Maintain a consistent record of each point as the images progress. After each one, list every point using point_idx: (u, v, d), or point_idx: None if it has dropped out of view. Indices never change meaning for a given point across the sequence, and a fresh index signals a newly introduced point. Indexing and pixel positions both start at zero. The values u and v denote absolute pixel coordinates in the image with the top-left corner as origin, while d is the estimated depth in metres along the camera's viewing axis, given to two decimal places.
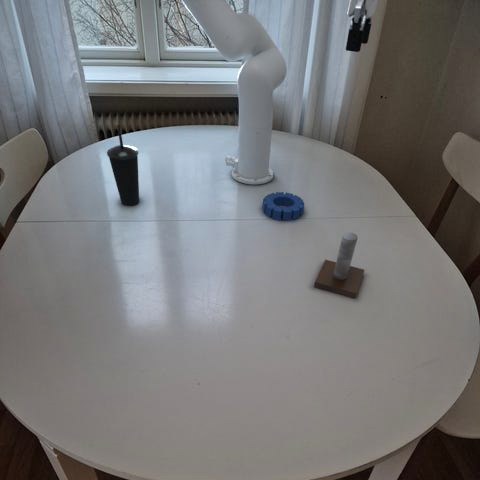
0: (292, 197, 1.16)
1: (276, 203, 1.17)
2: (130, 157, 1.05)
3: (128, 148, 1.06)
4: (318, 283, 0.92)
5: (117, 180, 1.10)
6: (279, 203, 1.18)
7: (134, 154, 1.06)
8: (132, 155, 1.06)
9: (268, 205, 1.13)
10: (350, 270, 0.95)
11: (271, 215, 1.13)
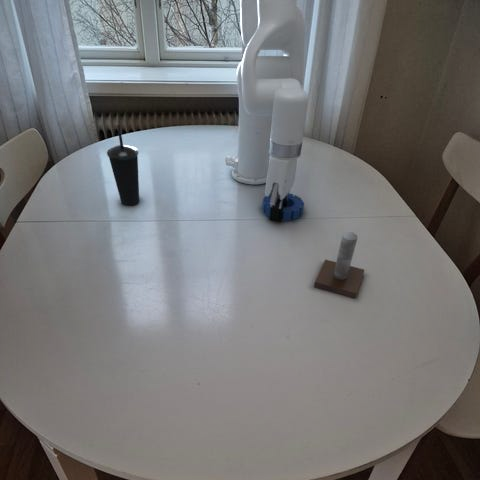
0: (292, 197, 1.16)
1: None
2: (130, 157, 1.05)
3: (128, 148, 1.06)
4: (318, 283, 0.92)
5: (117, 180, 1.10)
6: None
7: (134, 154, 1.06)
8: (132, 155, 1.06)
9: (268, 205, 1.12)
10: (350, 270, 0.95)
11: None
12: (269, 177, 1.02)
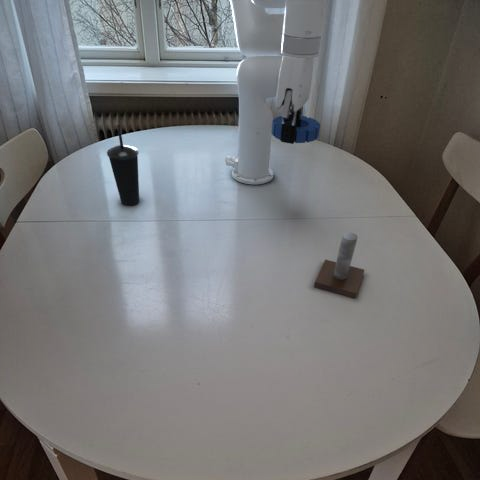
0: (306, 119, 1.01)
1: None
2: (130, 157, 1.05)
3: (128, 148, 1.06)
4: (318, 283, 0.92)
5: (117, 180, 1.10)
6: None
7: (134, 154, 1.06)
8: (132, 155, 1.06)
9: (278, 125, 0.97)
10: (350, 270, 0.95)
11: None
12: (281, 81, 0.86)
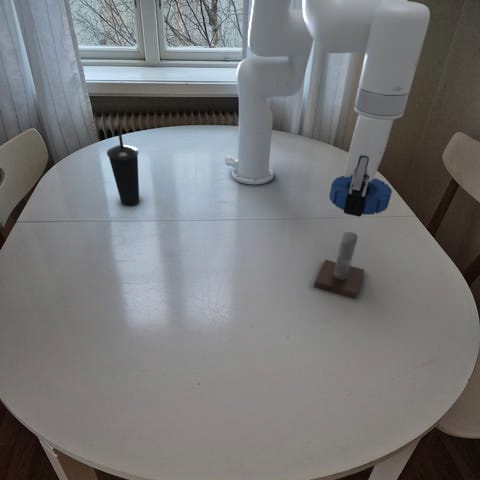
0: (372, 181, 0.81)
1: (348, 190, 0.82)
2: (130, 157, 1.05)
3: (128, 148, 1.06)
4: (318, 283, 0.92)
5: (117, 180, 1.10)
6: None
7: (134, 154, 1.06)
8: (132, 155, 1.06)
9: (341, 192, 0.78)
10: (350, 270, 0.95)
11: None
12: (355, 147, 0.67)
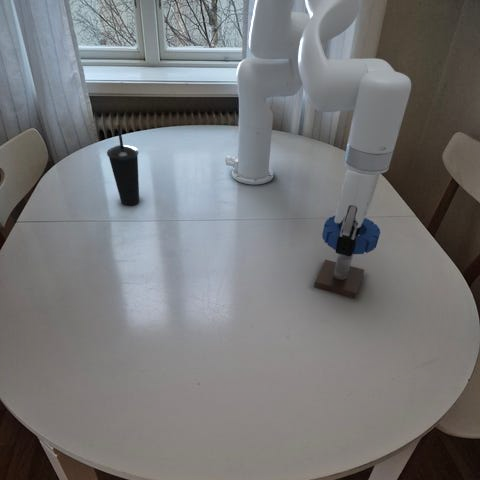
0: None
1: (340, 229, 0.88)
2: (130, 157, 1.05)
3: (128, 148, 1.06)
4: (318, 283, 0.92)
5: (117, 180, 1.10)
6: None
7: (134, 154, 1.06)
8: (132, 155, 1.06)
9: (333, 233, 0.83)
10: (350, 270, 0.95)
11: None
12: (344, 198, 0.73)
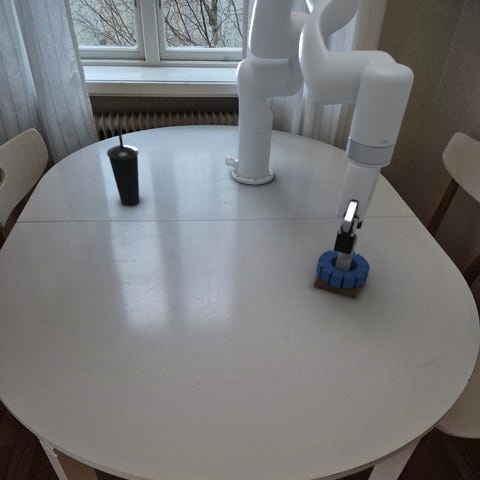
0: (354, 257, 0.94)
1: (333, 263, 0.95)
2: (130, 157, 1.05)
3: (128, 148, 1.06)
4: (318, 283, 0.92)
5: (117, 180, 1.10)
6: None
7: (134, 154, 1.06)
8: (132, 155, 1.06)
9: (325, 268, 0.91)
10: (350, 270, 0.95)
11: (328, 280, 0.91)
12: (345, 192, 0.72)
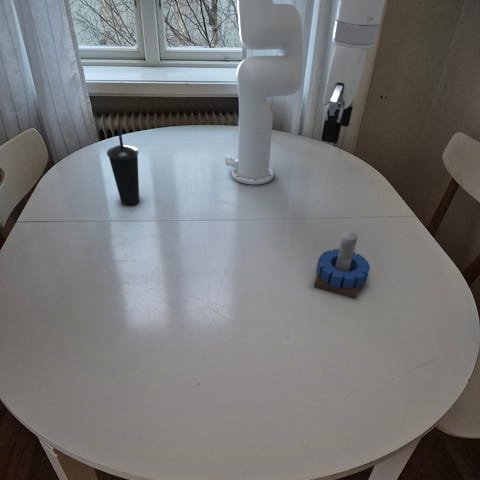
0: (354, 257, 0.94)
1: (333, 263, 0.95)
2: (130, 157, 1.05)
3: (128, 148, 1.06)
4: (318, 283, 0.92)
5: (117, 180, 1.10)
6: None
7: (134, 154, 1.06)
8: (132, 155, 1.06)
9: (325, 268, 0.91)
10: (350, 270, 0.95)
11: (328, 280, 0.91)
12: (332, 75, 0.76)
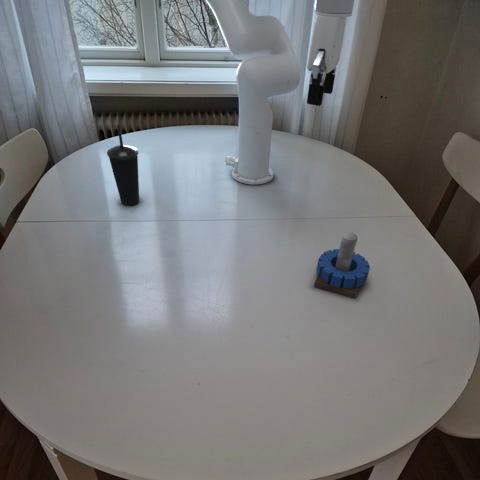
0: (354, 257, 0.94)
1: (333, 263, 0.95)
2: (130, 157, 1.05)
3: (128, 148, 1.06)
4: (318, 283, 0.92)
5: (117, 180, 1.10)
6: None
7: (134, 154, 1.06)
8: (132, 155, 1.06)
9: (325, 268, 0.91)
10: (350, 270, 0.95)
11: (328, 280, 0.91)
12: (314, 42, 0.86)
